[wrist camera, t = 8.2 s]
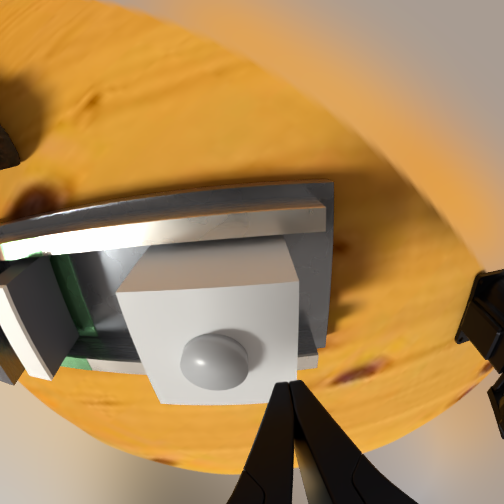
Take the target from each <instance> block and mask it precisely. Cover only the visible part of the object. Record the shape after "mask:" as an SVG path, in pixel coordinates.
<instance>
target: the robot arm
mask: <svg viewBox="0 0 504 504" xmlns="http://www.w3.org/2000/svg"><path fill="white" fill-rule="evenodd" d="M469 340H470V341H471V343H472V344H473V345H474V346H475V347H476V349H477V350H478V351H479V352H480V354H481V355H482V356H483V358H484V359H485V360H489V362H490V363H491V364H492V366H493V367H494V368H495V370H497V372H498V374H501V373H502V374H501V376H500V377H499V379H498V380H497V381H496V383H495V384H494V385H493V386H492V387H490V389H489V390H488V391H487V394H488V396H489V399H490V402H491V405H492V408H493V411H494V414H495V417H496V421H497V424H498V428H499V431H500V434H501V437H502V439H504V269H502V270H498V271H493V272H488V273H483V274H479V275H478V276H477V277H476V278H475V280H474V283H473V287H472V290H471V294H470V297H469V300H468V303H467V306H466V309H465V312H464V315H463V318H462V321H461V323H460V326H459V329H458V331H457V334H456V336H455V342H456V343H457V344H461V343H464V342H466V341H469ZM294 449H295V453H296V457H297V461H298V465H299V469H300V472H301V476H302V480H303V484H304V488H305V492H306V496H307V500H308V504H418V503H417V502H415V501H414V500H413V499H412V498H410V497H409V496H408V495H407V494H405V493H404V492H403V491H401V490H400V489H399V488H398V487H396V486H395V485H394V484H393V483H391V482H390V481H389V480H388V479H387V478H386V477H385V476H384V475H383V474H381V473H380V472H379V471H378V470H377V469H376V468H375V466H374V465H373V464H372V463H371V462H370V461H369V460H368V459H367V458H366V457H365V455H364V454H362V452H361V451H360V450H359V449H358V447H357V446H356V445H355V444H354V443H353V442H352V440H351V439H350V438H349V437H348V436H347V435H346V433H345V432H344V431H343V430H342V429H341V427H340V426H339V425H338V424H337V423H336V421H335V420H334V419H333V418H332V417H331V415H330V414H329V413H328V412H327V410H326V409H325V408H324V407H323V406H322V404H321V403H320V402H319V401H318V399H317V398H316V397H315V396H314V395H313V393H312V392H311V391H310V390H309V388H308V387H307V386H306V385H305V383H304V382H303V381H302V380H294V381H290V382H289V383H288V382H287V381H285V382H277V383H275V385H274V388H273V391H272V394H271V397H270V399H269V402H268V405H267V408H266V411H265V414H264V416H263V419H262V422H261V424H260V427H259V430H258V433H257V435H256V438H255V440H254V443H253V446H252V448H251V451H250V453H249V456H248V458H247V461H246V463H245V466H244V468H243V469H244V470H243V471H242V473H241V475H240V478H239V480H238V482H237V485H236V486H235V489H234V491H233V493H232V495H231V497H230V498H229V500H228V502H227V503H226V504H292V488H293V464H294Z"/></svg>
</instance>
